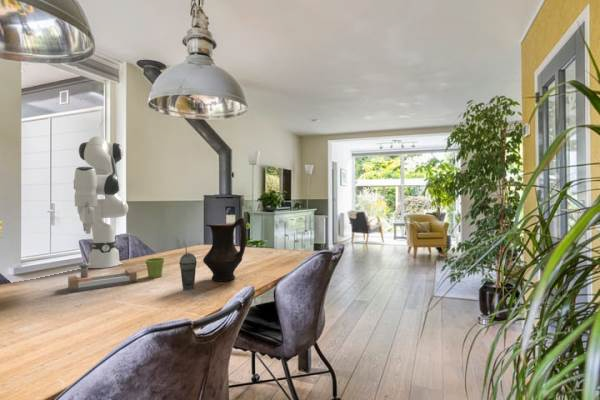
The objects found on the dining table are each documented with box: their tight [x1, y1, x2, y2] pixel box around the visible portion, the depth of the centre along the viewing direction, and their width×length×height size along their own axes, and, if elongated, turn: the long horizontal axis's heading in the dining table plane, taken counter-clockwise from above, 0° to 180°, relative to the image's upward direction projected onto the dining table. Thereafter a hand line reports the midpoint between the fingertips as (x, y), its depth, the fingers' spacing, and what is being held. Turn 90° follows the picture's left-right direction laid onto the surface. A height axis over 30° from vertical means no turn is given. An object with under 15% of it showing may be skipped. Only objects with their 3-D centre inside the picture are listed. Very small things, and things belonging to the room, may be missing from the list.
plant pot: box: [144, 257, 166, 279], centre depth 172 cm, size 9×9×9 cm
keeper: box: [77, 262, 93, 283], centre depth 152 cm, size 7×5×9 cm
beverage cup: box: [178, 242, 198, 292], centre depth 148 cm, size 7×7×20 cm
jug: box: [202, 216, 247, 282], centre depth 165 cm, size 21×18×30 cm
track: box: [67, 268, 138, 293], centre depth 157 cm, size 10×26×5 cm, turn 127°
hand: (87, 232), depth 157 cm, fingers open, 8 cm apart
